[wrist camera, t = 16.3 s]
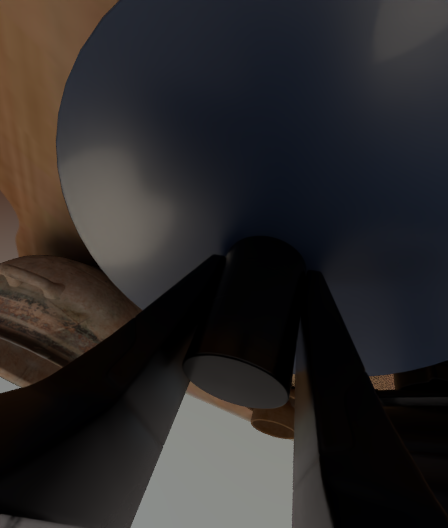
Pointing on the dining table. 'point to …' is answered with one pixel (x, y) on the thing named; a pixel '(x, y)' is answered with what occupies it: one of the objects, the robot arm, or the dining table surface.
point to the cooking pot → (54, 314)
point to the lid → (268, 173)
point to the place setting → (276, 419)
